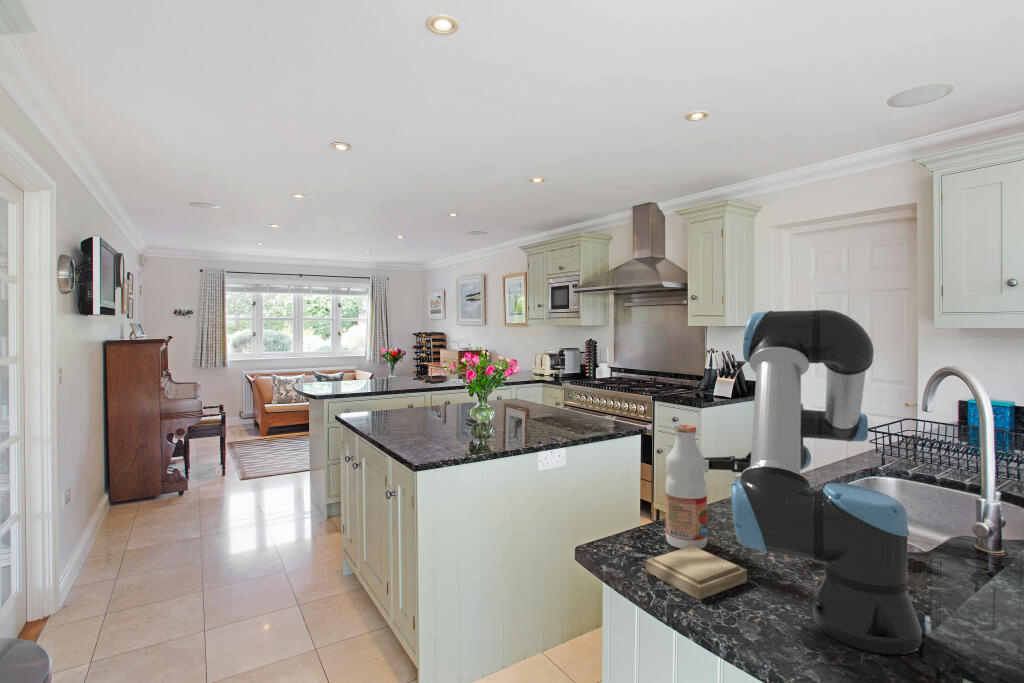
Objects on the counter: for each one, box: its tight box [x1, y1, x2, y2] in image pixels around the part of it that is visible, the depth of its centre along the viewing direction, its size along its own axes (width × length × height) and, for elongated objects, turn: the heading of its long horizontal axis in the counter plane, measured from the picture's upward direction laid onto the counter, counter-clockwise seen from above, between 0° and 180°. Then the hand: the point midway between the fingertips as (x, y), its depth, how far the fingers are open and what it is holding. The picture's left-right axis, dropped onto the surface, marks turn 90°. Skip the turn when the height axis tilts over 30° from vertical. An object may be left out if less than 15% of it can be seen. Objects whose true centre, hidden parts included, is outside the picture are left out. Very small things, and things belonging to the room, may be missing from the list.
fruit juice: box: [664, 424, 708, 550], centre depth 125 cm, size 9×9×28 cm
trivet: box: [645, 546, 748, 601], centre depth 108 cm, size 14×14×3 cm
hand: (712, 474), depth 130 cm, fingers open, 13 cm apart
